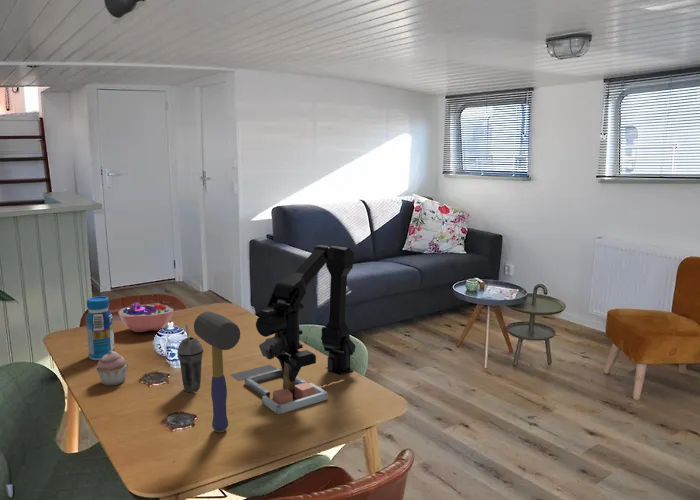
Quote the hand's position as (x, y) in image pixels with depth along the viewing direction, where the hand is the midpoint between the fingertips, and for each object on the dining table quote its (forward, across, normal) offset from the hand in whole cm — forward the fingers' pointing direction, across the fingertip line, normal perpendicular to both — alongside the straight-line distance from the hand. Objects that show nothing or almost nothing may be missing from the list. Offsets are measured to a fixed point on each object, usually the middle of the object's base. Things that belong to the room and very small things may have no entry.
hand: (289, 379), depth 166 cm
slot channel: (+5, -8, 0) cm, 9 cm away
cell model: (+6, -83, -13) cm, 84 cm away
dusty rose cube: (+6, +2, -4) cm, 7 cm away
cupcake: (+6, -41, -37) cm, 55 cm away
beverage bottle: (+6, -65, -34) cm, 73 cm away
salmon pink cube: (+6, +2, +3) cm, 7 cm away
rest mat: (+5, -21, 0) cm, 21 cm away
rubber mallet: (+6, +6, -24) cm, 25 cm away
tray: (+5, +3, 0) cm, 6 cm away
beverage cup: (+6, -22, -20) cm, 30 cm away
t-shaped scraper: (+5, -1, 0) cm, 5 cm away
